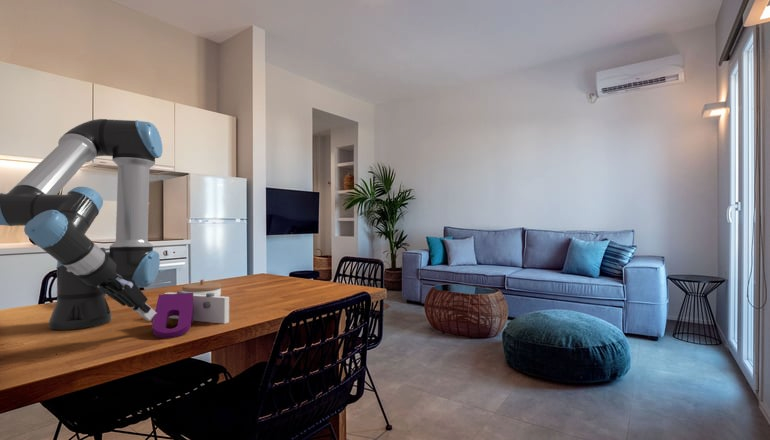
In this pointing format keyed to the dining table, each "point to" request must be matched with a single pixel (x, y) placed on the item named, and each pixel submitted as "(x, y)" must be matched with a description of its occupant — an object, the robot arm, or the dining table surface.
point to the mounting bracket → (170, 307)
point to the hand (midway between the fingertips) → (152, 317)
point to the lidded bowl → (203, 288)
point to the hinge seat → (208, 308)
